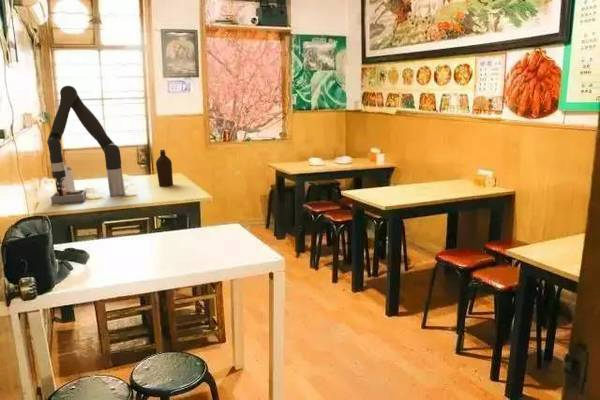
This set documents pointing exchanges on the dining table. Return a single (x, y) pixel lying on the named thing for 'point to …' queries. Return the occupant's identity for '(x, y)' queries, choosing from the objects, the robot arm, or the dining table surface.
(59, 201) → the tote
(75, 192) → the walnut cube
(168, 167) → the olive oil
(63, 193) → the terracotta cylinder
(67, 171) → the milk carton
